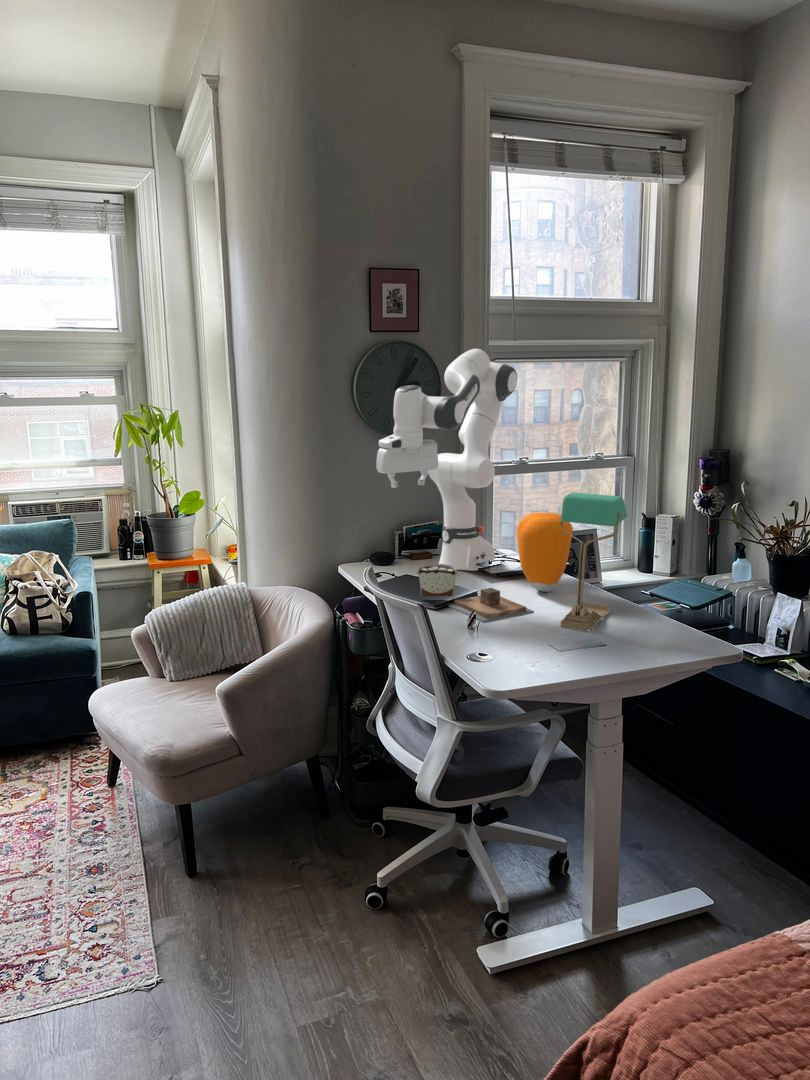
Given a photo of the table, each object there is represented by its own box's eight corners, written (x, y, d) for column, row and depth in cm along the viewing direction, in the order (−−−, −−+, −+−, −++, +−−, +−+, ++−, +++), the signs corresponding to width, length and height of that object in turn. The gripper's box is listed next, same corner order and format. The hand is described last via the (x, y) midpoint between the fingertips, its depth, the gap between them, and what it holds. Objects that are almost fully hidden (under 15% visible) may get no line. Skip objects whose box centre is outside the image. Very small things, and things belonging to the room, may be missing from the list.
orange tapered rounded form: (505, 586, 260) (507, 509, 254) (551, 581, 266) (555, 506, 260) (532, 601, 244) (535, 520, 238) (580, 596, 250) (585, 516, 244)
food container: (458, 595, 250) (458, 564, 248) (457, 601, 244) (458, 569, 242) (418, 594, 251) (418, 562, 249) (416, 600, 245) (416, 568, 243)
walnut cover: (492, 597, 247) (492, 580, 246) (526, 611, 234) (526, 593, 233) (454, 604, 240) (454, 587, 239) (487, 618, 227) (487, 601, 226)
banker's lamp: (547, 624, 223) (553, 499, 215) (569, 604, 241) (575, 487, 233) (604, 633, 216) (612, 504, 208) (623, 612, 234) (631, 492, 226)
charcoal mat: (495, 596, 249) (495, 595, 249) (533, 612, 234) (533, 610, 234) (446, 605, 240) (446, 604, 240) (483, 622, 225) (483, 621, 225)
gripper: (431, 438, 252) (431, 482, 255) (373, 441, 242) (373, 487, 245) (442, 439, 247) (442, 484, 250) (384, 443, 237) (384, 490, 240)
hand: (407, 486), depth 248 cm, fingers open, 8 cm apart
